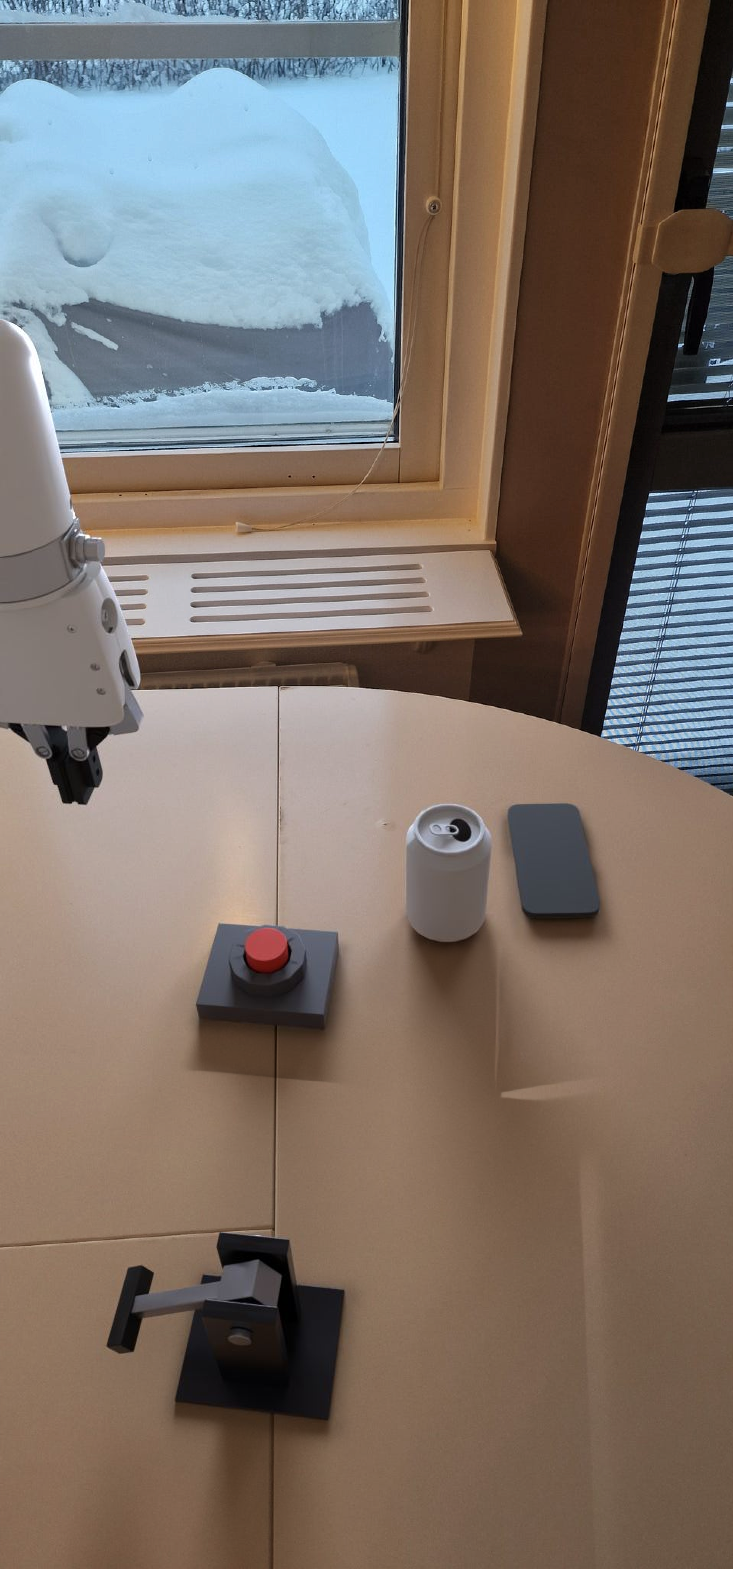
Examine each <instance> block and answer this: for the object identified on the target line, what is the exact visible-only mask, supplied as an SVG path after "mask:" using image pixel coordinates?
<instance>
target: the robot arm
mask: <svg viewBox="0 0 733 1569" xmlns="http://www.w3.org/2000/svg"><path fill="white" fill-rule="evenodd" d="M105 555H106V545H105V542H104V539H103V538H102V537H91V536H90V535H89V534H85V533H84V532H83V529H82V526H81V521H80V518H79V517H76V515H75V512H74V506H73V501H72V497H71V492H70V489H69V485H68V481H67V476H66V472H65V468H64V463H63V459H62V453H61V449H60V444H59V441H58V437H57V433H56V428H55V424H54V419H53V415H52V411H51V407H50V402H49V398H48V394H47V390H46V385H45V380H44V376H43V373H42V367H41V364H40V361H39V357H38V354H37V350H36V348H35V346H34V344H33V342H32V341H31V339H30V337H29V336H28V334H27V333H26V332H24V330H23V329H22V328H20V327H19V326H18V325H16V324H14V322H13V323H12V322H11V321H8V320H6V319H4V318H0V729H3V730H9V729H10V730H11V731H12V732H13V733H14V734H16V735H17V736H19V737H20V738H22V739H23V740H24V741H26V742H27V743H29V745H30V746H31V748H32V751H33V752H34V754H35V755H36V756H37V757H38V758H39V759H44V760H45V761H46V765H47V769H48V772H49V775H50V778H51V781H52V784H53V785H54V786H56V787H57V790H58V793H59V797H60V799H61V800H60V801H61V803H62V804H64V805H65V804H66V805H72V804H73V803H77V805H78V806H79V805H80V806H82V805H83V806H87V805H88V804H89V801H90V800H91V797H92V795H93V792H94V790H95V789H98V788H99V787H100V786H101V783H102V781H103V776H104V772H103V771H104V770H103V766H102V763H101V759H100V755H99V751H98V746H99V745H100V744H101V743H102V742H103V741H105V739H107V737H108V736H112V735H113V736H119V735H126V734H133V733H136V732H138V731H139V730H140V727H141V725H142V723H143V721H144V718H145V716H144V713H143V711H142V708H141V707H140V705H139V703H138V701H137V698H136V697H135V695H134V693H133V691H132V690H138V689H139V686H140V683H141V671H140V666H139V661H138V659H137V658H138V657H137V655H136V650H135V647H134V644H133V641H132V638H131V634H130V631H129V628H128V624H127V621H126V619H125V616H124V613H123V610H122V608H121V605H120V602H119V600H118V597H117V594H116V592H115V590H114V588H113V585H112V584H111V582H110V580H109V578H108V575H107V574H106V571H105V569H104V568H103V566H102V564H101V563H102V562H103V561H104V560H105V557H106V556H105Z"/></svg>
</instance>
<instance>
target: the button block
mask: <svg viewBox="0 0 733 1569" xmlns="http://www.w3.org/2000/svg"><path fill="white" fill-rule="evenodd" d="M262 928H273V929H276V930H278V931H280V932H281V933H283V935H284V936H285V937H286V940H287V948H288V960H287V962H286V964H285V965H284V966H283V967H282V968H281V969H279V970H278V971H275V972H272V973H259V972H256V971H254V970H253V969H252V968H251V967H250V966H249V965H248V962H247V957H246V951H245V942H246V940H247V938H248V936H249V935H250V934H252V933H253V932H254V931H256V930H259V929H262ZM339 944H340V943H339V931H333V930H320V929H319V930H317V929H305V928H292V927H291V928H290V927H285V926H283V925H275V924H261V925H251V924H240V923H239V924H237V923H223V922H218V924H217V928H216V932H215V935H214V938H213V943H212V947H211V950H210V953H209V957H208V960H207V964H206V967H205V971H204V974H203V978H202V981H201V984H200V988H199V992H198V996H197V1000H196V1003H195V1006H196V1011H197V1015H198V1019H199V1020H207V1021H217V1022H218V1021H220V1022H231V1023H239V1024H240V1023H241V1024H242V1023H243V1024H253V1025H265V1026H278V1027H287V1028H288V1027H291V1028H303V1029H312V1030H313V1029H314V1030H326V1026H327V1019H328V1014H329V1009H330V1001H331V996H332V990H333V985H334V984H333V983H334V978H335V972H336V965H337V959H338V954H339V949H340V945H339Z"/></svg>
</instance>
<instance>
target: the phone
mask: <svg viewBox="0 0 733 1569" xmlns="http://www.w3.org/2000/svg"><path fill="white" fill-rule="evenodd" d="M507 822H508V823H507V824H508V829H509V835H510V836H509V837H510V841H511V847H512V855H513V861H514V868H515V875H516V882H517V883H516V884H517V888H518V893H519V900H520V907H521V911H522V913H523V915H525V916H526V917H528V918H531V919H581V918H584V919H585V918H593V917H596V916H597V915H598V914H599V913H600V909H601V901H600V895H599V891H598V888H597V883H596V878H595V874H594V869H593V865H592V861H591V856H590V852H589V849H588V842H587V839H586V834H585V830H584V826H583V822H582V818H581V813H580V810H579V808H578V807H577V806H576V805H575V804H572V803H562V802H559V803H517V804H513V805H511V806H510V807H509V808H508V810H507Z"/></svg>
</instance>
